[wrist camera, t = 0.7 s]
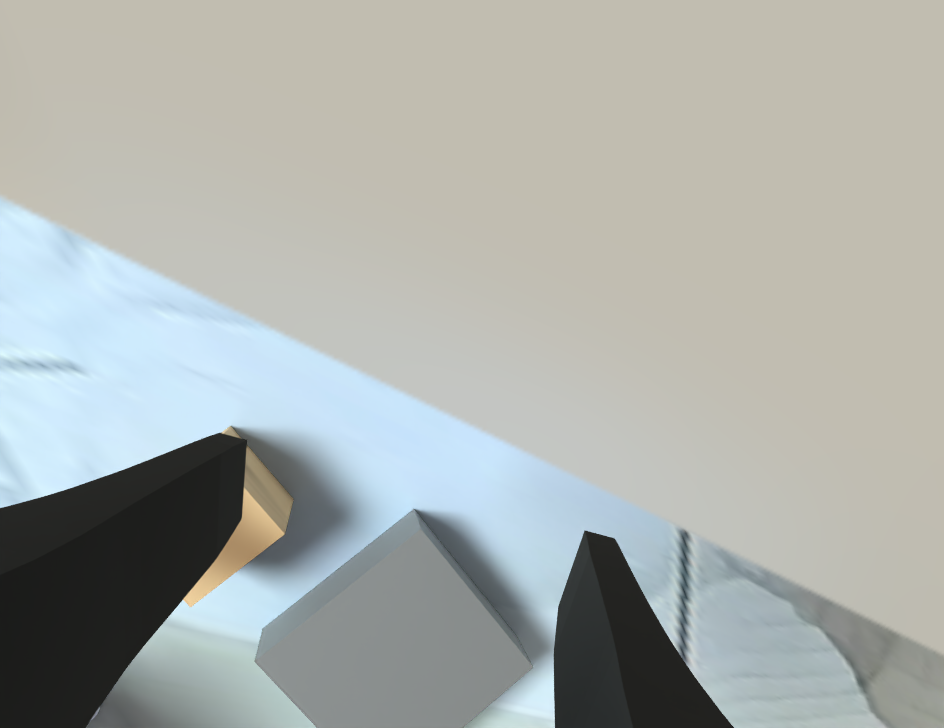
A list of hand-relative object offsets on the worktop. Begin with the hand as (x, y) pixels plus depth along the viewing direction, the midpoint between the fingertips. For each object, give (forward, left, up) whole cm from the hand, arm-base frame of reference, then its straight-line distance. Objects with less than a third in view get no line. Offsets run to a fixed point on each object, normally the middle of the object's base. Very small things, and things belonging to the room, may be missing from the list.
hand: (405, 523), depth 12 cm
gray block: (-7, -12, -20) cm, 24 cm away
